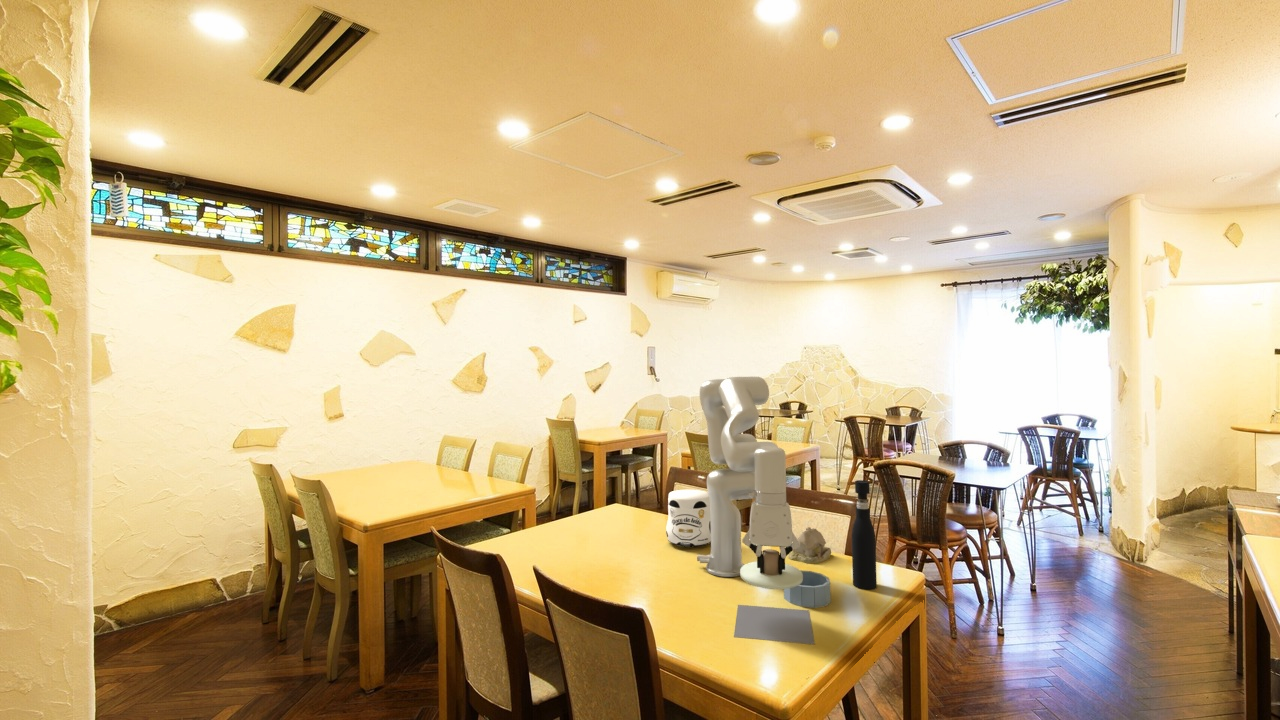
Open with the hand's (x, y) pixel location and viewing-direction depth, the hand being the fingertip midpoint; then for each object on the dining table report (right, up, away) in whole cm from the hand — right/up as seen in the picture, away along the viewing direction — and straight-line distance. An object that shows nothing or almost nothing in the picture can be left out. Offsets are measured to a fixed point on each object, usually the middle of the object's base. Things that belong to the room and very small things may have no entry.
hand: (771, 570), depth 135 cm
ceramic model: (+25, -14, +48) cm, 56 cm away
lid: (0, -1, 0) cm, 1 cm away
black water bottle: (+33, -13, +23) cm, 42 cm away
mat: (0, -13, -1) cm, 13 cm away
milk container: (-14, -15, +65) cm, 68 cm away
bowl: (+13, -13, +14) cm, 23 cm away
